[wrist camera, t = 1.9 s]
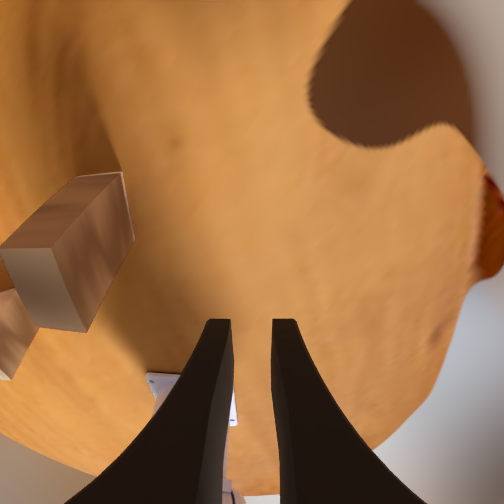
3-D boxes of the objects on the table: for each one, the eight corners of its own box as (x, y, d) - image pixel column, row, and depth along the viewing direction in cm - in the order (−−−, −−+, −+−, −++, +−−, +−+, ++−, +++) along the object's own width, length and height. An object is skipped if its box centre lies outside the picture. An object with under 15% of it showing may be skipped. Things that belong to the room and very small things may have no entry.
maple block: (43, 320, 24) (11, 380, 18) (24, 323, 25) (-7, 378, 19) (19, 286, 22) (-21, 345, 16) (0, 292, 23) (-37, 346, 17)
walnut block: (135, 239, 19) (86, 332, 13) (92, 239, 20) (35, 326, 13) (122, 171, 17) (51, 247, 10) (76, 176, 17) (-3, 248, 10)
